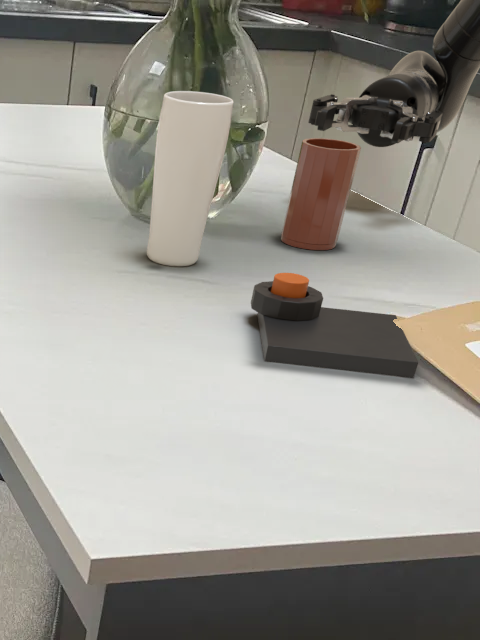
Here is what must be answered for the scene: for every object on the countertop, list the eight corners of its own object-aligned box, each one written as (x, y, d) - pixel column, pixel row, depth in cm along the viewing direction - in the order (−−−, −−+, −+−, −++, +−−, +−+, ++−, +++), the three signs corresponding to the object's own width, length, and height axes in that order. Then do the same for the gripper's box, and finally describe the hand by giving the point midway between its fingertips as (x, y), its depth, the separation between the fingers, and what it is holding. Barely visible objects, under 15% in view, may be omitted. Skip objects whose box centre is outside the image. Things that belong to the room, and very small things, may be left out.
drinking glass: (135, 249, 113) (159, 88, 104) (199, 253, 113) (228, 93, 104) (142, 268, 107) (167, 100, 98) (209, 272, 107) (240, 105, 98)
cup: (332, 238, 121) (357, 141, 115) (338, 252, 116) (364, 152, 110) (278, 232, 121) (300, 136, 115) (282, 246, 117) (305, 146, 111)
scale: (389, 327, 97) (399, 293, 95) (413, 379, 87) (425, 342, 85) (246, 311, 98) (253, 278, 96) (252, 360, 88) (260, 324, 86)
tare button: (303, 292, 95) (307, 274, 94) (306, 302, 93) (310, 284, 92) (269, 288, 95) (273, 270, 94) (271, 299, 93) (275, 280, 92)
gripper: (345, 65, 132) (306, 79, 121) (463, 82, 127) (434, 98, 115) (329, 132, 137) (290, 152, 125) (442, 151, 131) (412, 173, 120)
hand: (359, 126), depth 120 cm, fingers open, 8 cm apart
